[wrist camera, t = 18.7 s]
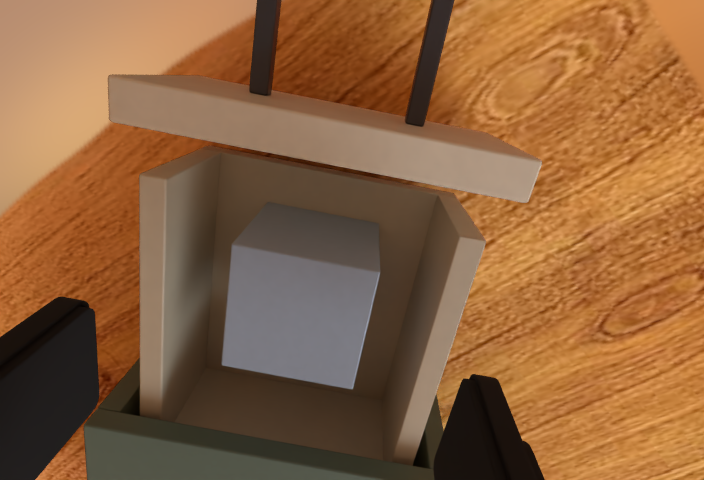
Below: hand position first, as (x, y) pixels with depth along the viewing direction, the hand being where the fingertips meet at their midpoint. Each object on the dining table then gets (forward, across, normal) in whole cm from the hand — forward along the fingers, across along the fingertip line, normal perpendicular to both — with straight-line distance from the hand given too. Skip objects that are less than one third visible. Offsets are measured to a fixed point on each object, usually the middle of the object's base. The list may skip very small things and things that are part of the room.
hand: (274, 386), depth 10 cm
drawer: (+9, 0, -3) cm, 9 cm away
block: (+8, 0, 0) cm, 8 cm away
